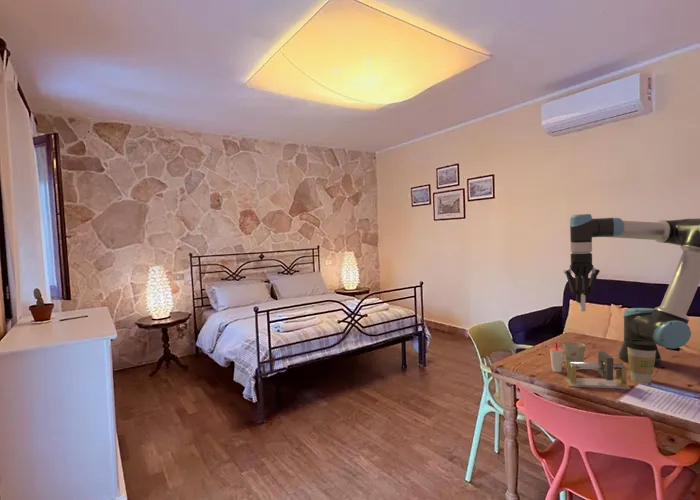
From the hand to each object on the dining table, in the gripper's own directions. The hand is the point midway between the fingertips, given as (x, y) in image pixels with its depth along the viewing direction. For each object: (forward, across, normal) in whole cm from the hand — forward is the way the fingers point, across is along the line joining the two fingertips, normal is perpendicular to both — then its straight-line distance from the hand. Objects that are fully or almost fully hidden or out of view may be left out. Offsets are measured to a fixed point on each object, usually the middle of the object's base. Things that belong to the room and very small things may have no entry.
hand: (582, 310), depth 163 cm
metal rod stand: (+26, 0, +12) cm, 28 cm away
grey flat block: (+23, -3, +12) cm, 26 cm away
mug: (+26, +4, -6) cm, 27 cm away
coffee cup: (+26, -18, +7) cm, 33 cm away
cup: (+26, +10, -1) cm, 27 cm away
